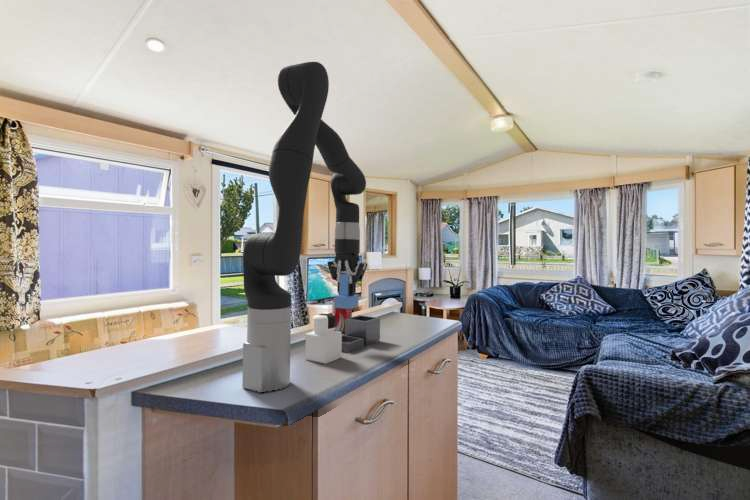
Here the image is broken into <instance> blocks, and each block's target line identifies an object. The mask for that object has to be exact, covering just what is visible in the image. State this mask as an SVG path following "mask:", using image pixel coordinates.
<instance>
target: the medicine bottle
mask: <svg viewBox="0 0 750 500" xmlns="http://www.w3.org/2000/svg"><path fill="white" fill-rule="evenodd" d="M334 330H335V316H334V315H332V313H331V314H330V313H319V314H318V313H317V314H316V315H313V316H312V331H310V332H307V333H305V347H304V348H305V355H304V356H305V360H306V361H311V362H316V363H320V364H324V365H326V364H329V363H331V362H333V361H336V360H338V359H341V358H342V335H343V332H338V331H334Z"/></svg>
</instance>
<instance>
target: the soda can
mask: <svg viewBox="0 0 750 500" xmlns="http://www.w3.org/2000/svg"><path fill="white" fill-rule="evenodd" d="M352 309H353V308H350V309H344V308H336V307H334V300H333V301H332V307H331V311H332V312H331V314H332V315H334V316H335V331H338V332H342V333H345V319H347V318H351V317H353V310H352Z"/></svg>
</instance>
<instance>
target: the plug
mask: <svg viewBox="0 0 750 500" xmlns="http://www.w3.org/2000/svg"><path fill="white" fill-rule="evenodd" d="M349 284H350V283H349V276H347V273H344V274H340V287H339V294H334V296H333V301H334V307H336V308H344V309H350V308H352V309H353V308H357V307H359V294H354V296H349Z"/></svg>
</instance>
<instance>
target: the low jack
mask: <svg viewBox="0 0 750 500" xmlns="http://www.w3.org/2000/svg"><path fill="white" fill-rule="evenodd" d="M364 347H365V346H364V339H363V338H357V337H351V336H346V335H345V334H342V352H343V353H346V354H348V353H352V352H353V351H357V350H361V349H362V348H364ZM342 352H341V353H342Z"/></svg>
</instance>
